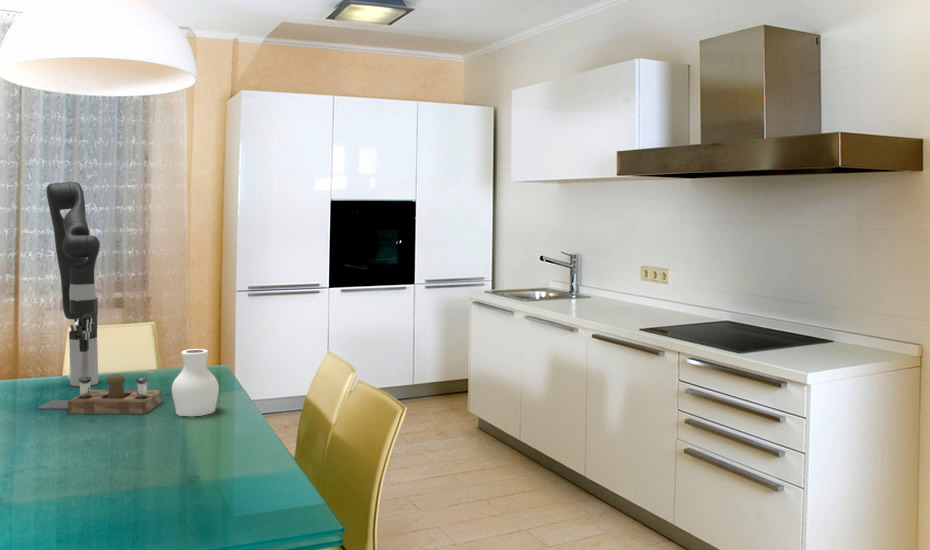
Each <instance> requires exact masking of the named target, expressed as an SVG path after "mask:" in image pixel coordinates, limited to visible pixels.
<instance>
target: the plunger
mask: <svg viewBox="0 0 930 550" xmlns="http://www.w3.org/2000/svg"><path fill="white" fill-rule="evenodd" d="M91 380H92V378H91V377H81V378H78V381H79V382H80V386H79V395H80V399H89V398H91V391H90V390H91V385H90V381H91Z"/></svg>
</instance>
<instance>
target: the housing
mask: <svg viewBox="0 0 930 550" xmlns="http://www.w3.org/2000/svg"><path fill="white" fill-rule="evenodd" d="M90 391H91V398H89V399H80V394H79V395H77V396H76V397H73V398H72V399H68V400H69V401H68V410H67V413H68V415H69V414H74V415H75V414H76V415H78V414H79V415H80V414H81V415H86V414H87V415H90V414H92V415H95V414H96V415H97V414H98V415H146V414H147V413H149V412H150V411H152V410H153V409H154V408H156V407H157V406H159V405H160V404H162V403H163V390H160V389H159V390H158V389H157V390H156V389H154V390H151V389H147V399H137V389H129V390H128V389H124V393H125V398H124V399H108V392H109V389H90Z"/></svg>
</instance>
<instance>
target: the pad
mask: <svg viewBox="0 0 930 550" xmlns="http://www.w3.org/2000/svg"><path fill="white" fill-rule="evenodd" d="M69 400H70V399H55V400H54V399H52V400H49V401H48V402H46V403H44V404H41V405H40V406H37V407H36V411H38V410H39V411H40V410H41V411H44V410H45V411H68V401H69Z"/></svg>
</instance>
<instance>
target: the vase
mask: <svg viewBox="0 0 930 550" xmlns="http://www.w3.org/2000/svg"><path fill="white" fill-rule="evenodd" d="M180 355H181V357H182V360H183V368H182V369H181V371H180V372H179V374H178V375H177V376H176V377H175V379H174V381H173V382H172V385H171V396H172V399H173V402H174V407H175V414H177V415H176V416H178V415H179V416H178V417H181V416H202V415H207V414H210V413H212V412H214V411H215V412H216V405H217V401H218V397H219V392H220V390H219V386H220V385H219V382H218V380H217V378H216V377H215V375H214V374H213V373H212V372H211V371H210V370H209V369H208V367H207V360H208V356H209V350H208V349H204V348H189V349H185V350H182V351H181V354H180ZM215 412H214V413H215ZM210 415H211V414H210ZM207 416H208V415H207ZM202 417H203V416H202Z"/></svg>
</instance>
